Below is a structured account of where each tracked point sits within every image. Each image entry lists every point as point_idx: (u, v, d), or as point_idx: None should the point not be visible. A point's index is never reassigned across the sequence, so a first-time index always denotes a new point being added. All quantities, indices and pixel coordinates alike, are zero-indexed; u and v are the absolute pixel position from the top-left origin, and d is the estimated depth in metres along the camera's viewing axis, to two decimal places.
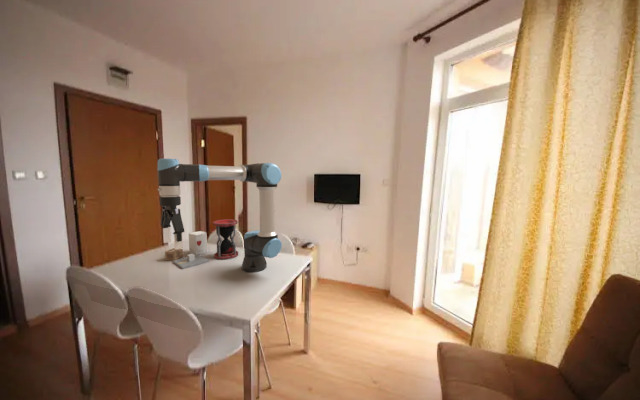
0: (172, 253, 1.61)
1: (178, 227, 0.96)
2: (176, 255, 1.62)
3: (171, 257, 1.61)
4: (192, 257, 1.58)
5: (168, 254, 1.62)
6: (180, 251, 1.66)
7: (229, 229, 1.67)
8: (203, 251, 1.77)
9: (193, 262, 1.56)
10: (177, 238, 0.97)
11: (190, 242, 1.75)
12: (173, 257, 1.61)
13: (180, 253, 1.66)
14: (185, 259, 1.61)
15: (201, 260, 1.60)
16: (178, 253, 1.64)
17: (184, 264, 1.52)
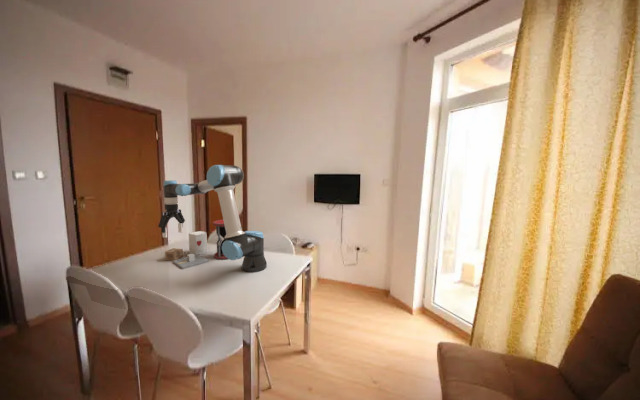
0: (172, 253, 1.61)
1: (159, 223, 1.53)
2: (176, 255, 1.62)
3: (171, 257, 1.61)
4: (192, 257, 1.58)
5: (168, 254, 1.62)
6: (180, 251, 1.66)
7: None
8: (203, 251, 1.77)
9: (193, 262, 1.56)
10: None
11: (190, 242, 1.75)
12: (173, 257, 1.61)
13: (180, 253, 1.66)
14: (185, 259, 1.61)
15: (201, 260, 1.60)
16: (178, 253, 1.64)
17: (184, 264, 1.52)
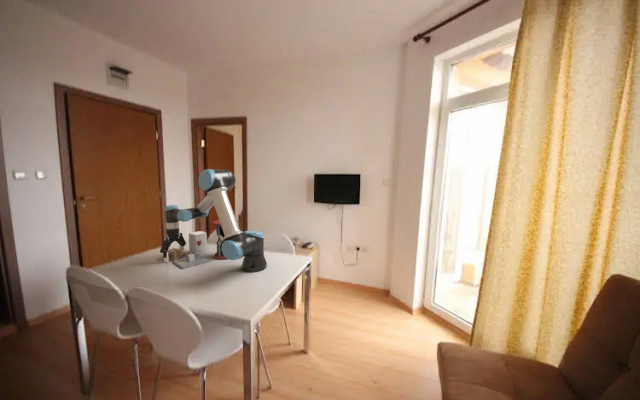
0: (172, 253, 1.61)
1: (161, 249, 1.55)
2: (176, 255, 1.62)
3: (171, 257, 1.61)
4: (192, 257, 1.58)
5: (168, 254, 1.62)
6: (180, 251, 1.66)
7: None
8: (203, 251, 1.77)
9: (193, 262, 1.56)
10: None
11: (190, 242, 1.75)
12: (173, 257, 1.61)
13: (180, 253, 1.66)
14: (185, 259, 1.61)
15: (201, 260, 1.60)
16: (178, 253, 1.64)
17: (184, 264, 1.52)
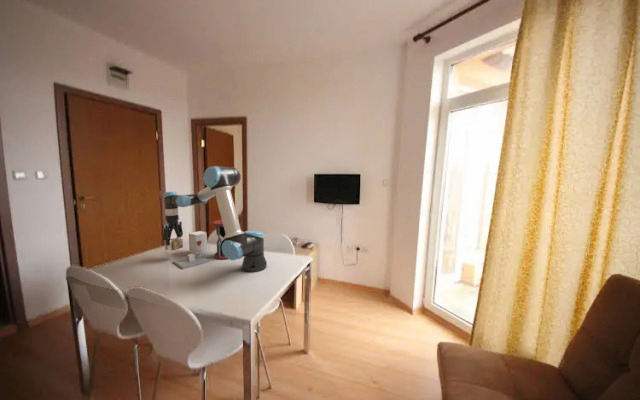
0: (172, 242, 1.60)
1: (164, 237, 1.57)
2: (176, 244, 1.61)
3: None
4: (192, 257, 1.58)
5: None
6: (180, 241, 1.65)
7: None
8: (203, 251, 1.77)
9: (193, 262, 1.56)
10: None
11: (190, 242, 1.75)
12: (173, 246, 1.60)
13: (180, 243, 1.65)
14: (185, 259, 1.61)
15: (201, 260, 1.60)
16: (178, 242, 1.63)
17: (184, 264, 1.52)
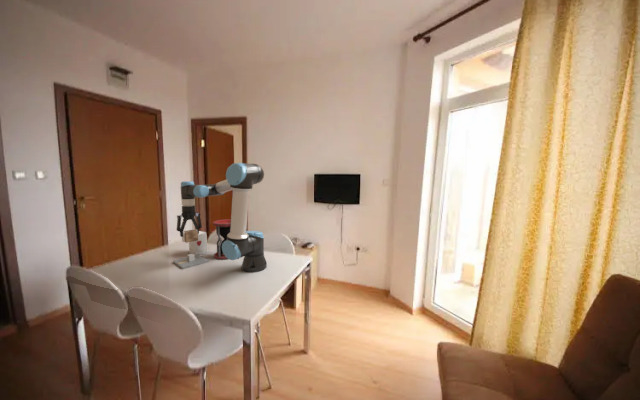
0: (185, 234, 1.53)
1: (177, 227, 1.52)
2: (188, 237, 1.54)
3: None
4: (192, 257, 1.58)
5: None
6: (194, 233, 1.56)
7: (229, 229, 1.67)
8: (203, 251, 1.77)
9: (193, 262, 1.56)
10: None
11: (190, 242, 1.75)
12: (185, 238, 1.53)
13: (194, 235, 1.56)
14: (185, 259, 1.61)
15: (201, 260, 1.60)
16: (191, 234, 1.55)
17: (184, 264, 1.52)
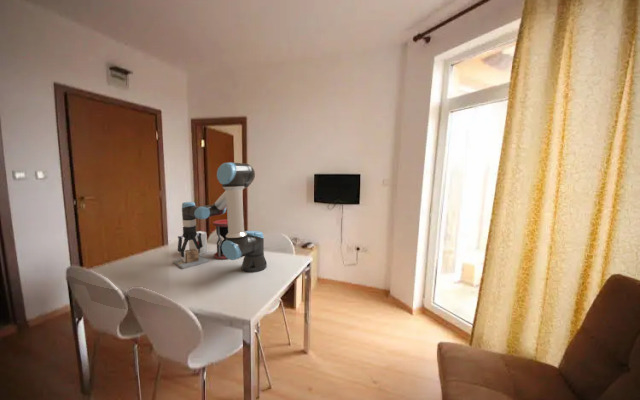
0: None
1: (178, 248, 1.53)
2: (189, 257, 1.55)
3: None
4: None
5: None
6: (195, 253, 1.58)
7: None
8: (203, 251, 1.77)
9: (193, 262, 1.56)
10: None
11: (190, 242, 1.75)
12: (186, 259, 1.55)
13: (195, 255, 1.58)
14: None
15: (201, 260, 1.60)
16: (192, 255, 1.56)
17: (184, 264, 1.52)
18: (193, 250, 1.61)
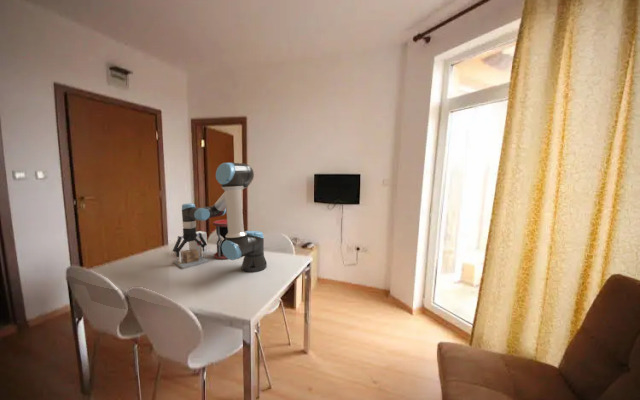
0: (186, 254, 1.55)
1: (174, 248, 1.51)
2: (189, 257, 1.55)
3: (185, 258, 1.56)
4: None
5: (184, 254, 1.57)
6: (195, 253, 1.58)
7: None
8: (203, 251, 1.77)
9: (193, 262, 1.56)
10: None
11: (190, 242, 1.75)
12: (186, 258, 1.55)
13: (195, 255, 1.58)
14: None
15: (201, 260, 1.60)
16: (192, 255, 1.56)
17: (184, 264, 1.52)
18: (193, 250, 1.61)
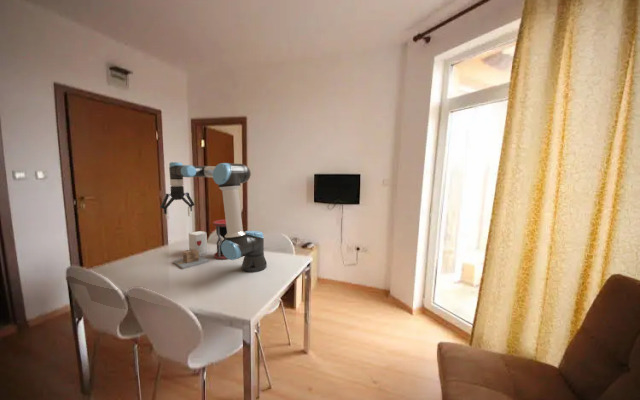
0: (186, 254, 1.55)
1: (161, 204, 1.55)
2: (189, 257, 1.55)
3: (185, 258, 1.56)
4: None
5: (184, 254, 1.57)
6: (195, 253, 1.58)
7: None
8: (203, 251, 1.77)
9: (193, 262, 1.56)
10: None
11: (190, 242, 1.75)
12: (186, 258, 1.55)
13: (195, 255, 1.58)
14: None
15: (201, 260, 1.60)
16: (192, 255, 1.56)
17: (184, 264, 1.52)
18: (193, 250, 1.61)
